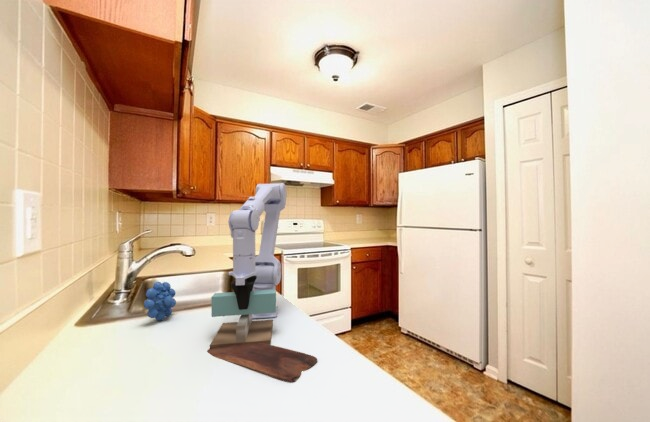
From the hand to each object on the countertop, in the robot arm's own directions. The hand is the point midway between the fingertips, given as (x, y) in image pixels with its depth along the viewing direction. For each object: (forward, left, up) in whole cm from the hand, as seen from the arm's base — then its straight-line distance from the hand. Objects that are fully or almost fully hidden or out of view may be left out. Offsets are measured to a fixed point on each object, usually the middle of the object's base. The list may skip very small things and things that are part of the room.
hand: (244, 306), depth 71 cm
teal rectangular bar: (0, 0, -2) cm, 2 cm away
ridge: (0, 0, -7) cm, 7 cm away
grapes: (-15, -26, -8) cm, 31 cm away
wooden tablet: (+12, +5, -8) cm, 15 cm away
